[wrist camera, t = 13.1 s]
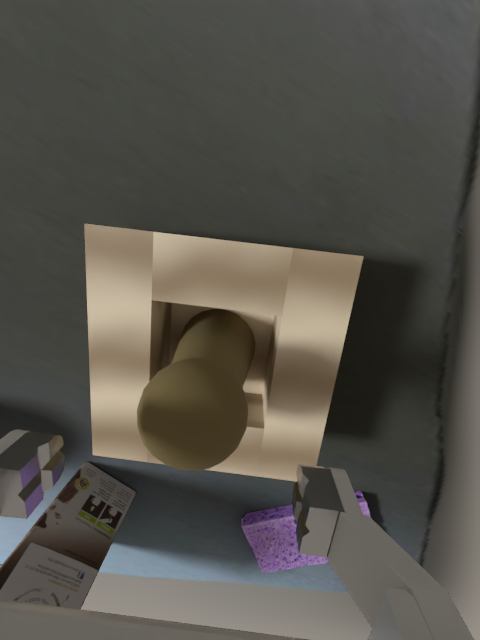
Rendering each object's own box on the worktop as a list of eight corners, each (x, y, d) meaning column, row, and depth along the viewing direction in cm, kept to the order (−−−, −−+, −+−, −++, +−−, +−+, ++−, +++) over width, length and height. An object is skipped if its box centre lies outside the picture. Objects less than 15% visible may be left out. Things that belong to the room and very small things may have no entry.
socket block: (129, 229, 22) (84, 223, 16) (333, 253, 21) (363, 256, 16) (128, 408, 26) (92, 455, 20) (298, 429, 26) (312, 483, 20)
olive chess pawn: (270, 334, 22) (286, 419, 11) (230, 391, 23) (211, 515, 13) (203, 294, 21) (153, 343, 11) (167, 355, 23) (91, 454, 12)
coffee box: (84, 458, 28) (-133, 733, 12) (138, 491, 28) (-1, 789, 13) (45, 512, 30) (-183, 805, 14) (96, 542, 31) (-67, 849, 15)
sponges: (373, 536, 29) (381, 556, 27) (259, 557, 31) (260, 577, 29) (360, 485, 28) (368, 502, 26) (240, 510, 29) (239, 527, 27)
